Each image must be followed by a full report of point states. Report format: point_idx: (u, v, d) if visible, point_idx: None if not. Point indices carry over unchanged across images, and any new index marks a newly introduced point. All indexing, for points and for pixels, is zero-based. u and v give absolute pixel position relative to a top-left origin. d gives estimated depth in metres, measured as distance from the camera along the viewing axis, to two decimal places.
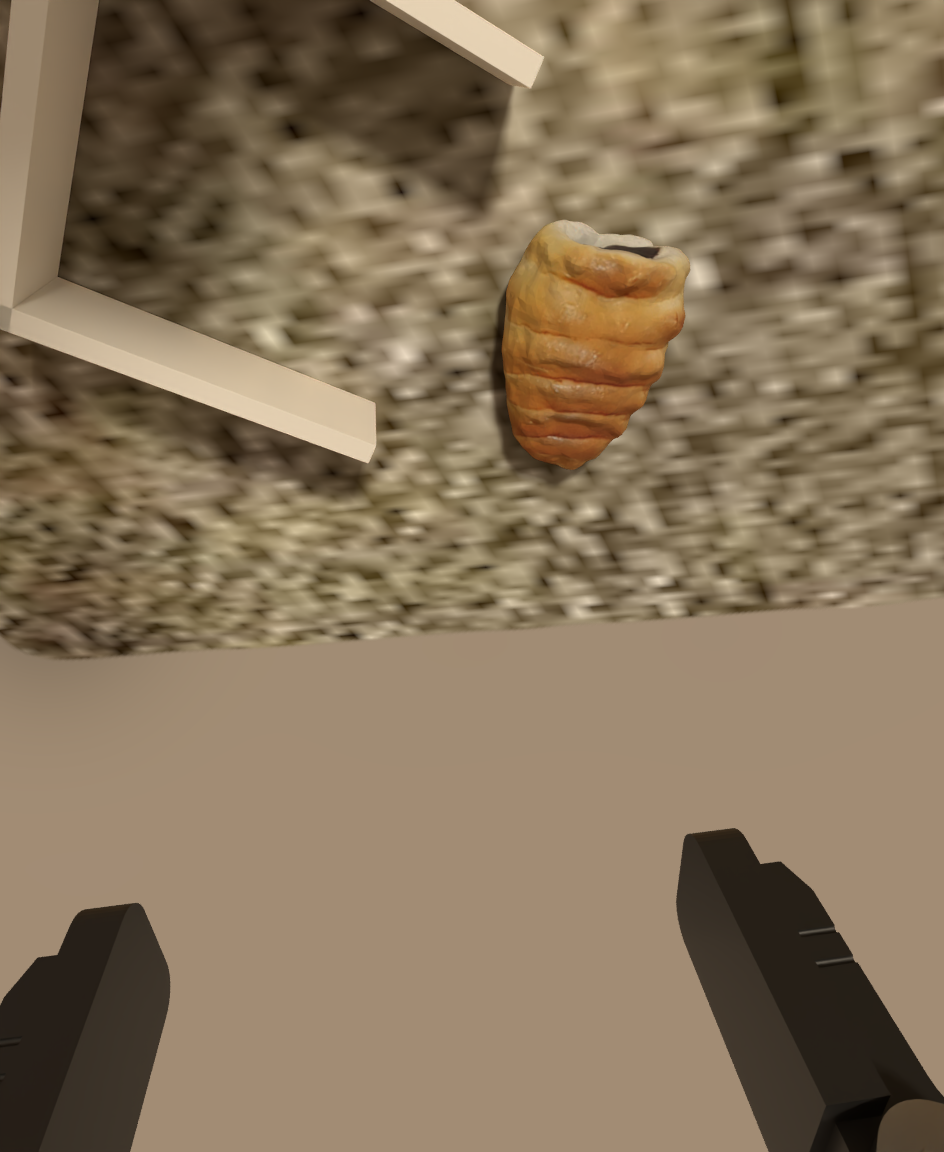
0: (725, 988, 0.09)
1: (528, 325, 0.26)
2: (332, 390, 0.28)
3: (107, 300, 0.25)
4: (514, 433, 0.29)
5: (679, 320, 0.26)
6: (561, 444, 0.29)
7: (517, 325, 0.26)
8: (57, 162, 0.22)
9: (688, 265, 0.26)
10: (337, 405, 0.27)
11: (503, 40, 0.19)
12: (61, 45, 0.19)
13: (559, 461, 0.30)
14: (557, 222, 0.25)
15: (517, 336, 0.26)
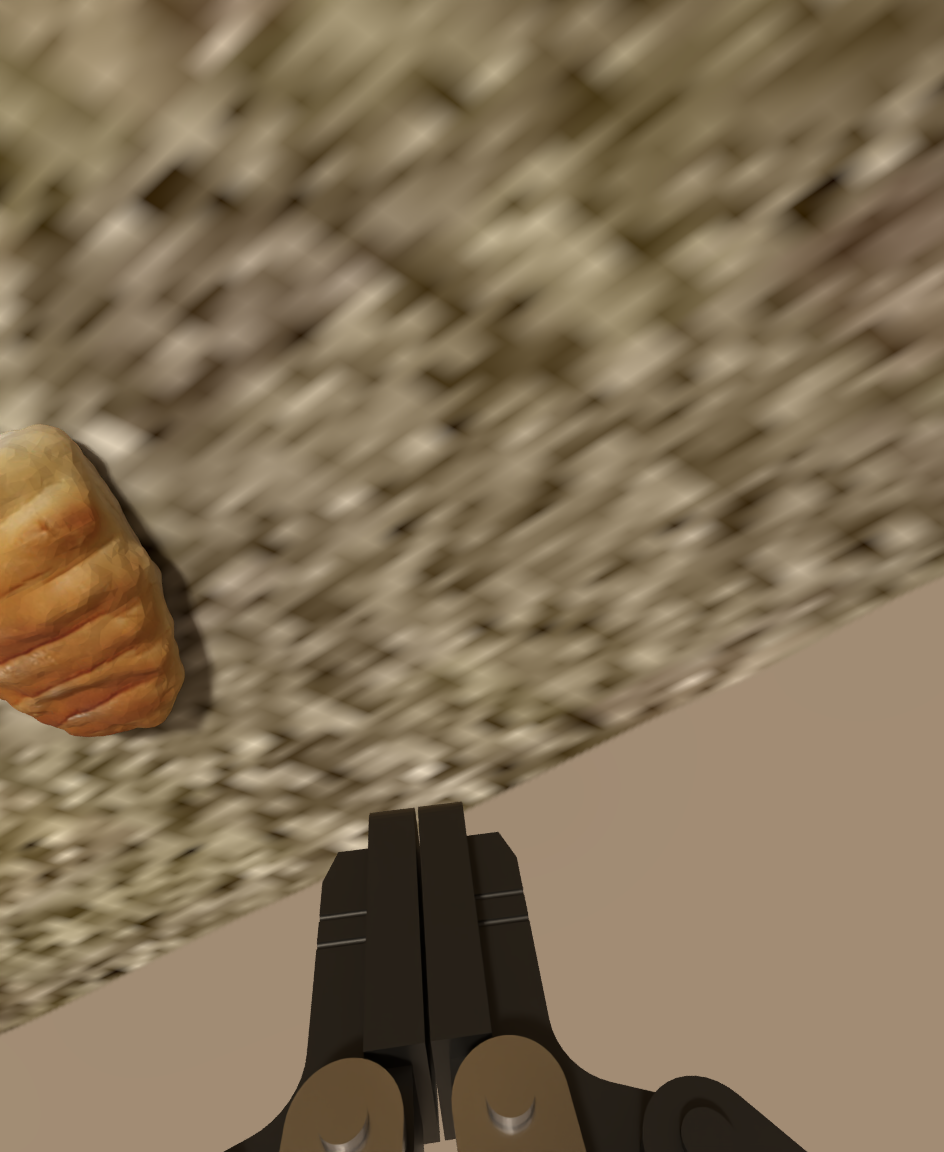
0: None
1: None
2: None
3: None
4: None
5: (56, 524, 0.17)
6: (94, 717, 0.20)
7: None
8: None
9: (49, 440, 0.17)
10: None
11: None
12: None
13: (131, 725, 0.21)
14: None
15: None
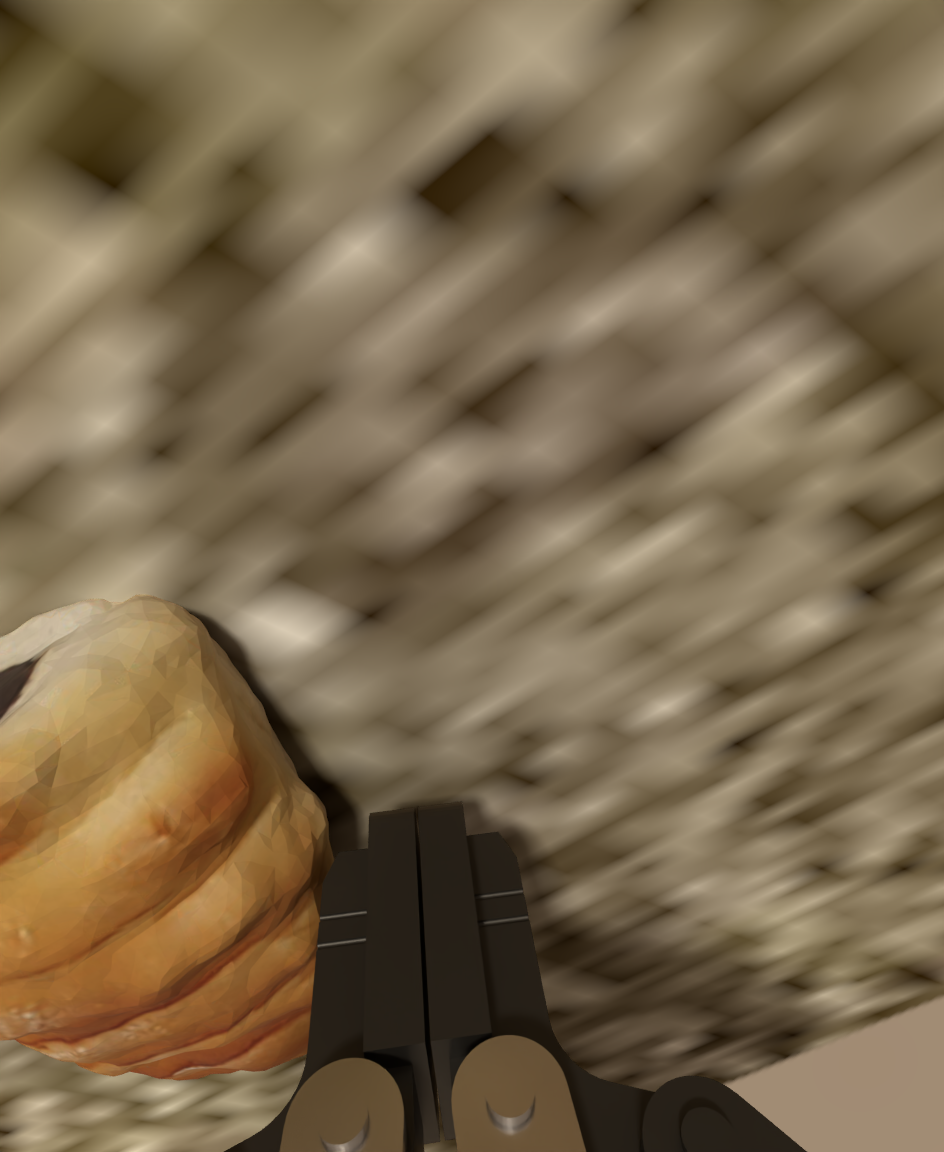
0: None
1: None
2: None
3: None
4: None
5: (185, 816, 0.08)
6: (219, 1067, 0.12)
7: None
8: None
9: (162, 637, 0.09)
10: None
11: None
12: None
13: None
14: None
15: None
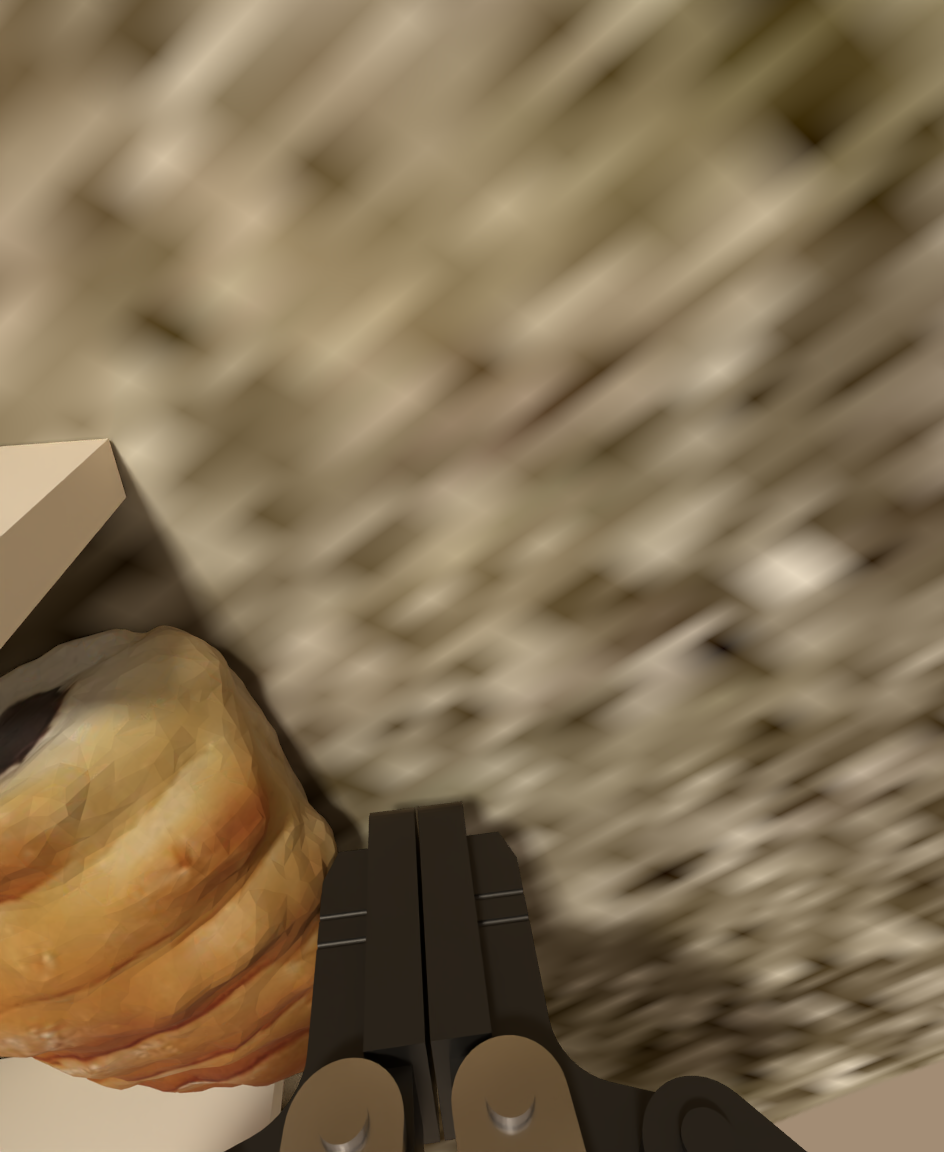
0: None
1: None
2: None
3: None
4: None
5: (205, 848, 0.09)
6: None
7: None
8: None
9: (186, 672, 0.09)
10: (187, 1124, 0.13)
11: None
12: None
13: None
14: None
15: None
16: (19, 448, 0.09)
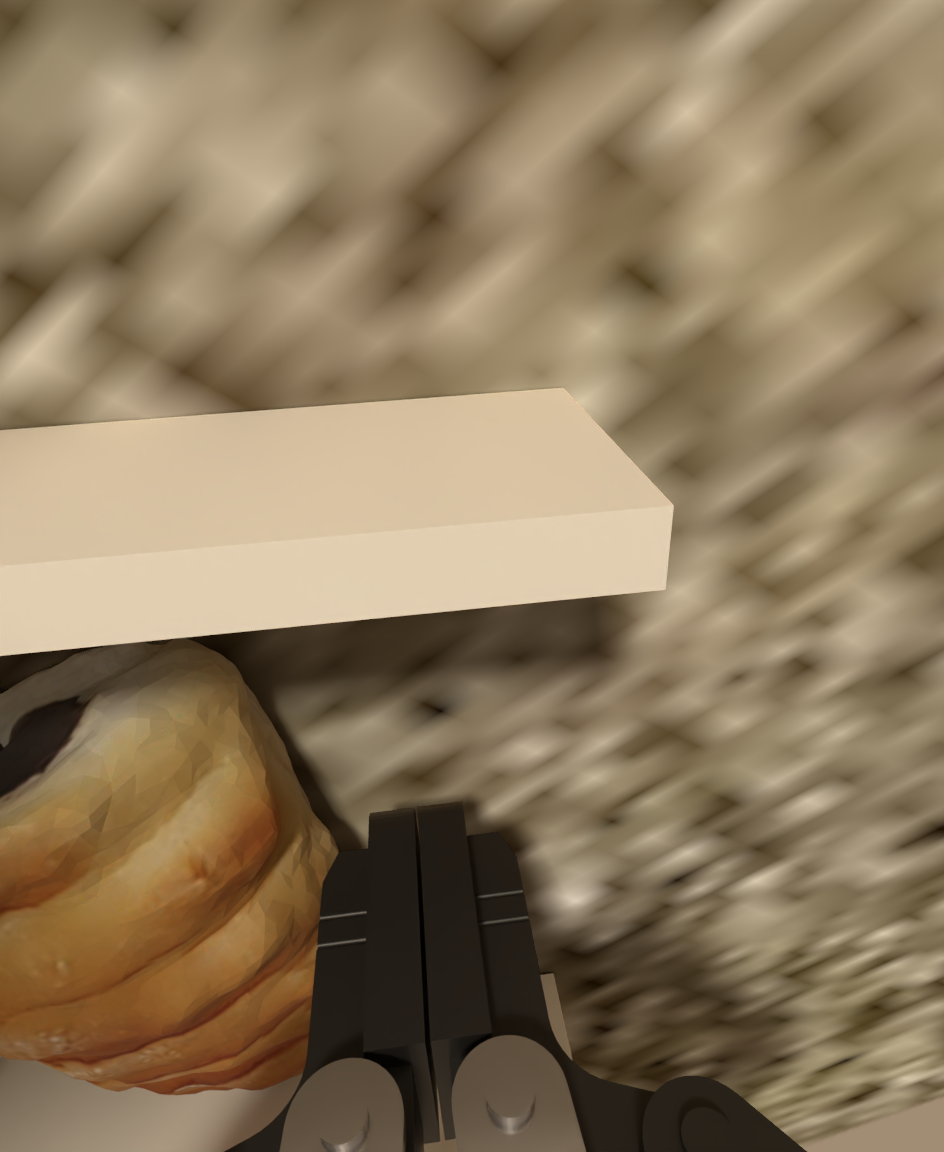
0: None
1: None
2: None
3: None
4: None
5: (220, 860, 0.09)
6: None
7: None
8: None
9: (205, 687, 0.09)
10: None
11: (529, 539, 0.06)
12: None
13: None
14: None
15: None
16: (488, 396, 0.09)
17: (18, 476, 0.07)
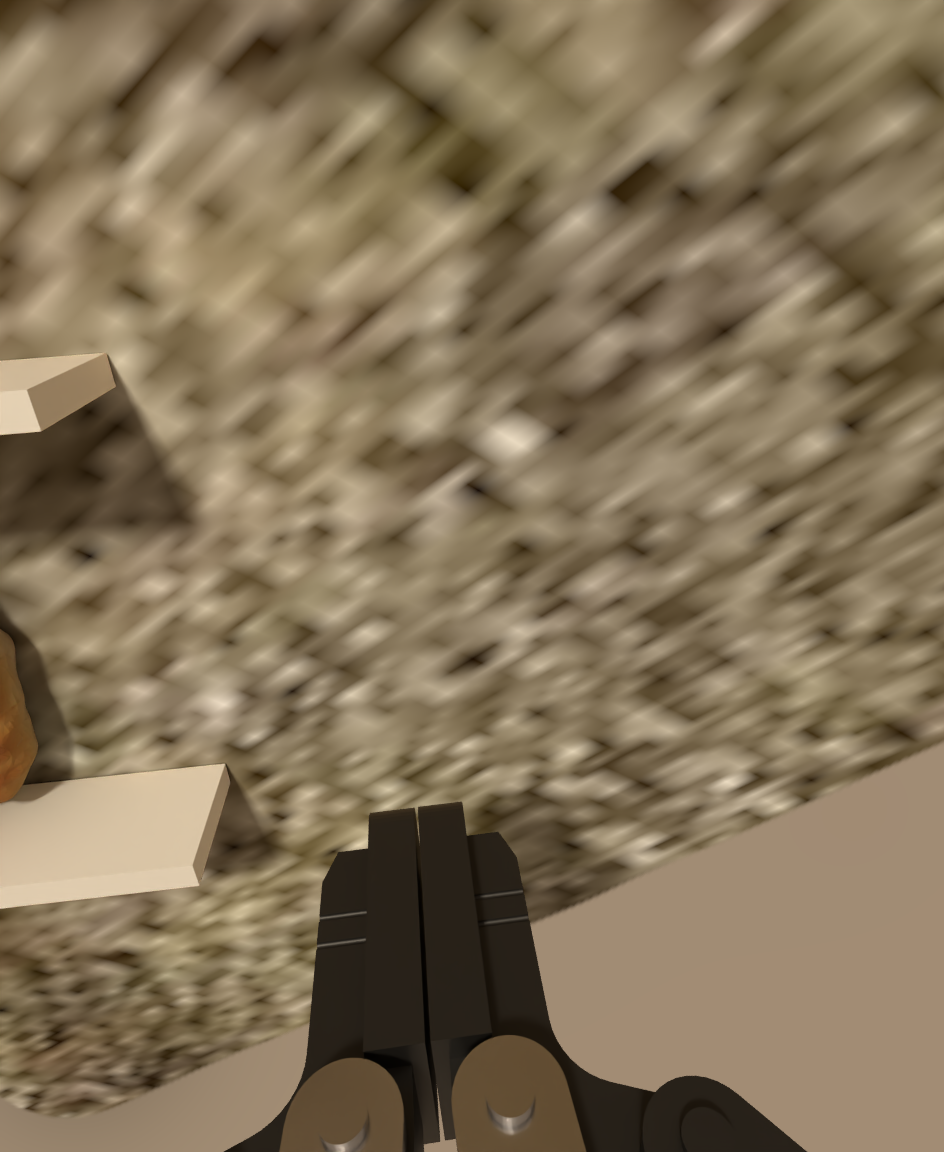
0: None
1: None
2: (163, 780, 0.22)
3: None
4: None
5: None
6: None
7: None
8: None
9: None
10: (159, 809, 0.21)
11: None
12: None
13: None
14: None
15: None
16: (59, 357, 0.17)
17: None
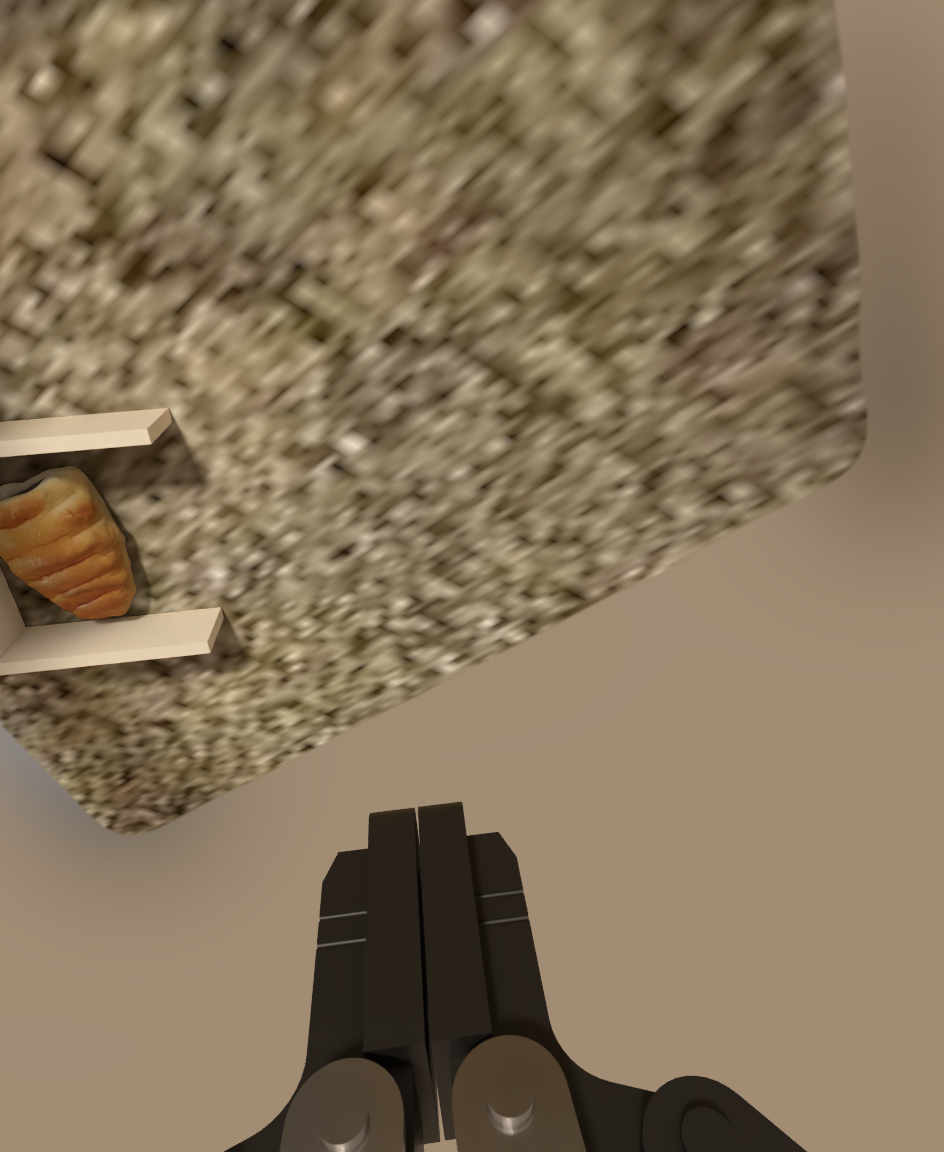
0: None
1: (4, 558, 0.39)
2: (190, 614, 0.44)
3: (52, 627, 0.44)
4: None
5: (75, 511, 0.38)
6: (90, 607, 0.41)
7: (3, 559, 0.40)
8: None
9: (73, 473, 0.39)
10: (189, 624, 0.43)
11: (123, 434, 0.35)
12: None
13: (108, 614, 0.42)
14: None
15: None
16: (148, 410, 0.39)
17: (39, 427, 0.37)
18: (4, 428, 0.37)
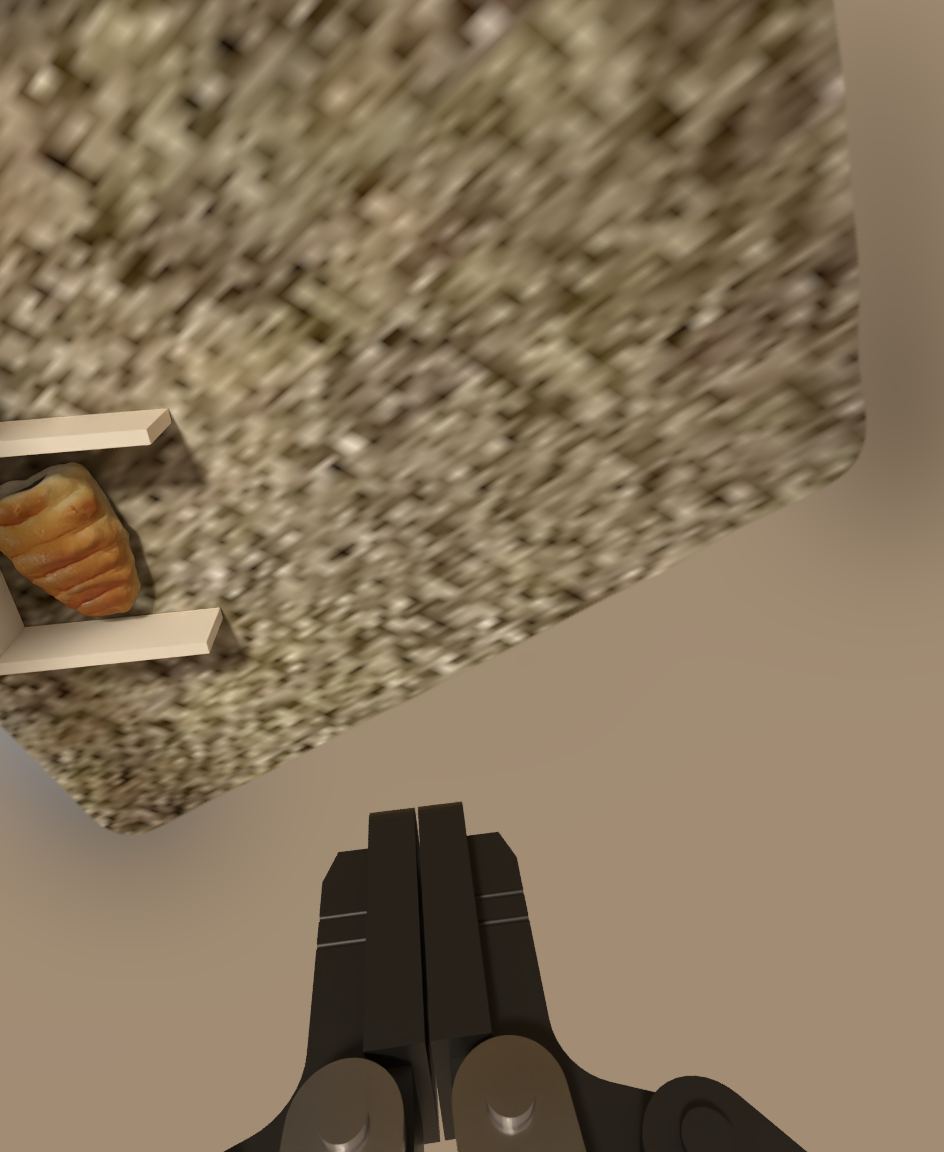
0: None
1: (8, 555, 0.39)
2: (189, 614, 0.44)
3: (51, 627, 0.44)
4: None
5: (79, 507, 0.38)
6: (94, 604, 0.41)
7: None
8: None
9: (76, 470, 0.39)
10: (188, 624, 0.43)
11: (122, 434, 0.35)
12: None
13: (113, 611, 0.42)
14: None
15: None
16: (148, 410, 0.39)
17: (38, 427, 0.37)
18: (3, 428, 0.37)
